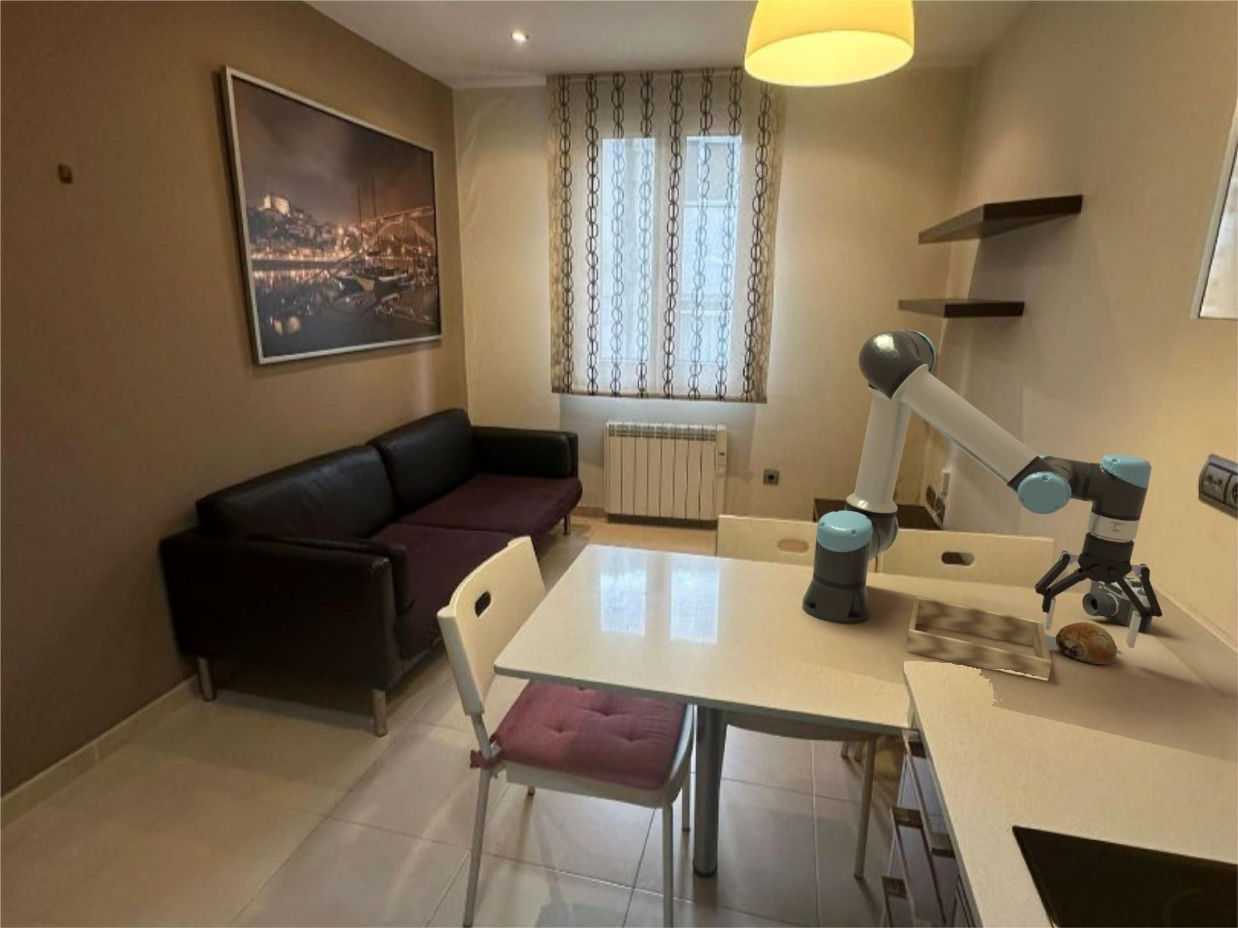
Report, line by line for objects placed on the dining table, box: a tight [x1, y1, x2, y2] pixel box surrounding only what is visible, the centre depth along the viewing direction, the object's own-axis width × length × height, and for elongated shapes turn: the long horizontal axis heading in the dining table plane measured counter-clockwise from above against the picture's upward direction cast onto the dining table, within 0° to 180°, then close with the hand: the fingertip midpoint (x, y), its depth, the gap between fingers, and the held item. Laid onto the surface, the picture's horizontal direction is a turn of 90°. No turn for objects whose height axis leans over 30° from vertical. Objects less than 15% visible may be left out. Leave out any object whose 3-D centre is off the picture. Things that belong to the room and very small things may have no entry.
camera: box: [1081, 575, 1158, 634], centre depth 146 cm, size 16×10×10 cm, turn 0°
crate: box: [905, 595, 1053, 680], centre depth 130 cm, size 24×18×6 cm
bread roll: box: [1055, 621, 1118, 666], centre depth 128 cm, size 10×10×8 cm
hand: (1087, 635), depth 128 cm, fingers open, 13 cm apart
